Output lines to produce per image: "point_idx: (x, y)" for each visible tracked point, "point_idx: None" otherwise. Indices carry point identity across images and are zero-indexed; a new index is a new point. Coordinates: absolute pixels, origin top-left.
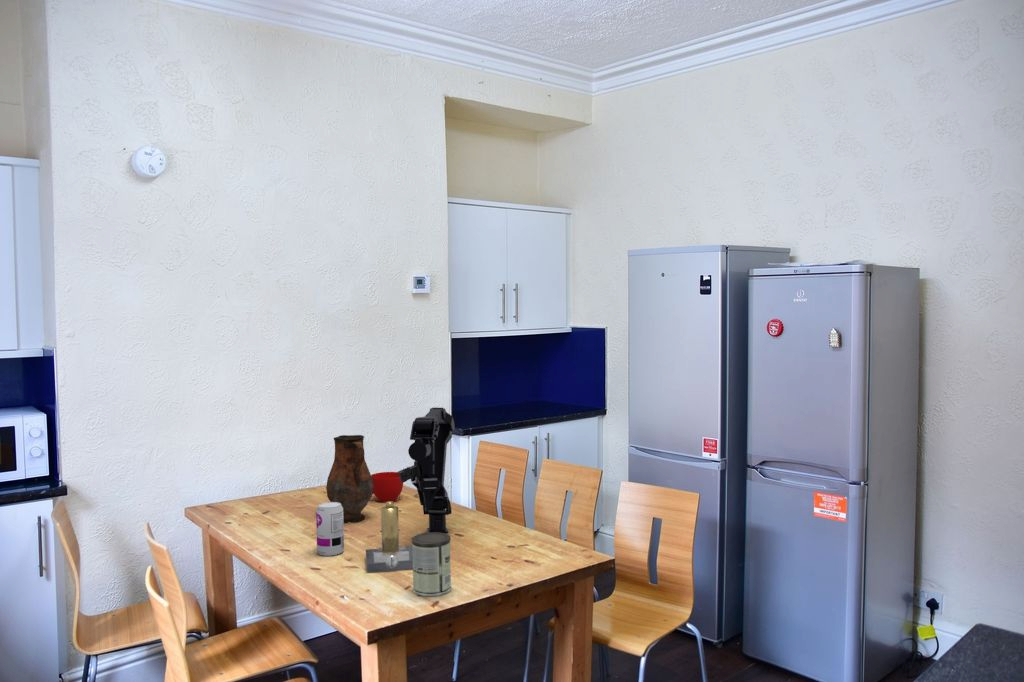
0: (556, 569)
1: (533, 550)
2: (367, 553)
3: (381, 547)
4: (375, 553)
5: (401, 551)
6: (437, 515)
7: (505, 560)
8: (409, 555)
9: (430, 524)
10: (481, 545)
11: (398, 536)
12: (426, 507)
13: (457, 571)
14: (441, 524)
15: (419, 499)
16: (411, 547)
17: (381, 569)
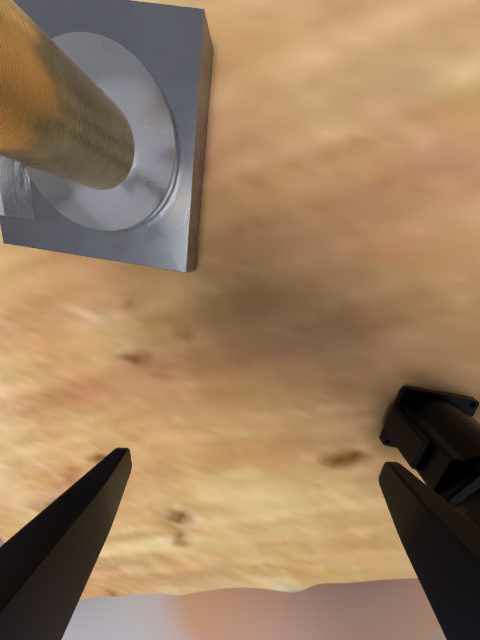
0: (5, 520)
1: (134, 537)
2: (132, 11)
3: (163, 103)
4: (67, 45)
5: (78, 198)
6: (444, 474)
7: (75, 471)
8: (65, 231)
9: (445, 417)
10: (211, 470)
11: (19, 162)
12: (97, 467)
13: (4, 351)
14: (401, 449)
15: (453, 512)
16: (168, 265)
17: None
